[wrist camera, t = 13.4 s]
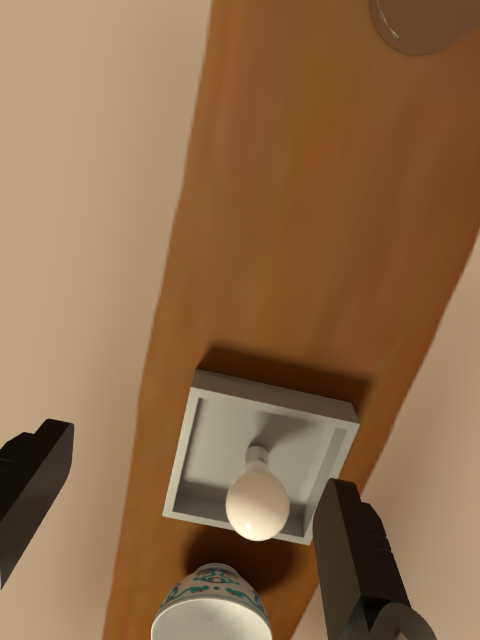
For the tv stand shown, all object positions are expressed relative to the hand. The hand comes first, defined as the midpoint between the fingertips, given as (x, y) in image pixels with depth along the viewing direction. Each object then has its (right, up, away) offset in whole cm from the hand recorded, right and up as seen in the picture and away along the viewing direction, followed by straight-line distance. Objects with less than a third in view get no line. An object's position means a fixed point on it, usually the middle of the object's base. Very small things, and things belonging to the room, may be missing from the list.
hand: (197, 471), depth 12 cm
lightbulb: (+3, -11, +34) cm, 36 cm away
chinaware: (-2, -32, +44) cm, 54 cm away
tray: (+3, -11, +35) cm, 37 cm away
